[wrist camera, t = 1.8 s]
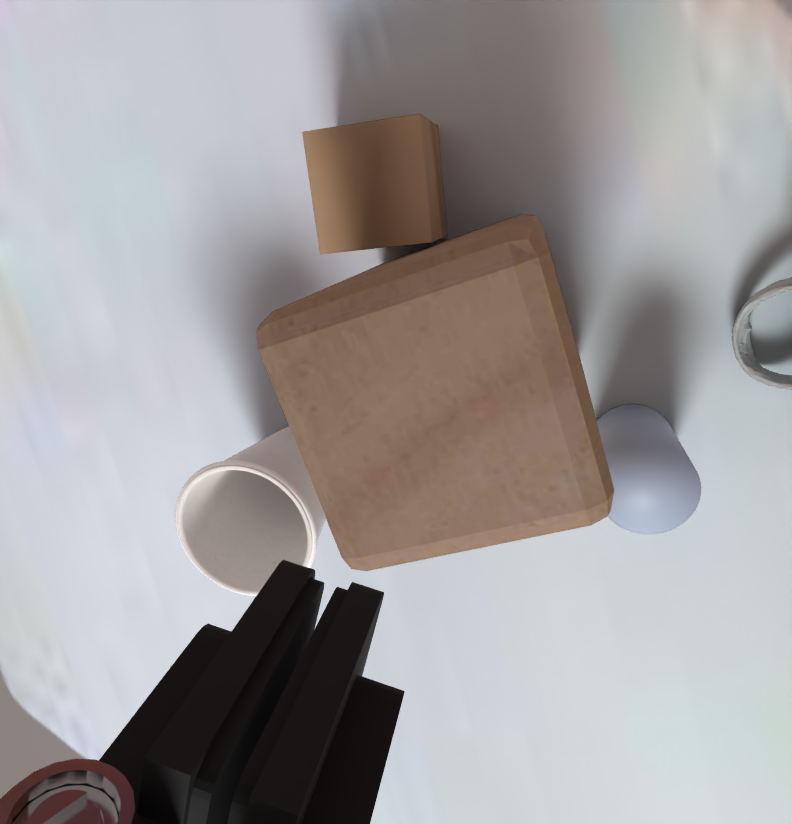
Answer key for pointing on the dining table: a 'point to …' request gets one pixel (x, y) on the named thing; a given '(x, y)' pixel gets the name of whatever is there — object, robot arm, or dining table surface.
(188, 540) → the dixie cup
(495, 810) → the dining table surface
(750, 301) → the ceramic mug
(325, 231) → the walnut cube
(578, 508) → the block
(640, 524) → the bluegrey post
